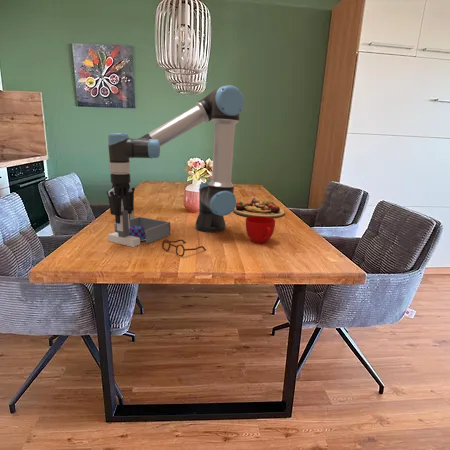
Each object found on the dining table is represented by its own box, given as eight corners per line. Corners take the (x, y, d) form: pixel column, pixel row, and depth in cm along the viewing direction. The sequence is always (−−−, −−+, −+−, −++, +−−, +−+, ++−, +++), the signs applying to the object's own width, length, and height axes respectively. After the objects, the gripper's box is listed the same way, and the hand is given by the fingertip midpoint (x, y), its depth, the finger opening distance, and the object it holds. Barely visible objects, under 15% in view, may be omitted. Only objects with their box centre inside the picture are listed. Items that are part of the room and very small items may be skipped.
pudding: (119, 237, 143) (118, 225, 142) (144, 233, 150) (143, 222, 149) (129, 244, 134) (128, 232, 133) (155, 239, 141) (155, 228, 140)
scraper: (140, 244, 134) (138, 211, 130) (133, 247, 131) (131, 213, 127) (115, 238, 140) (113, 207, 136) (108, 241, 137) (106, 209, 133)
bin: (170, 234, 148) (170, 222, 147) (147, 244, 135) (146, 230, 133) (139, 228, 157) (139, 216, 155) (115, 236, 143) (114, 223, 141)
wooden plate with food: (234, 218, 183) (235, 204, 180) (231, 206, 213) (232, 194, 211) (289, 221, 184) (291, 207, 182) (278, 208, 215) (280, 196, 213)
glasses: (161, 250, 130) (161, 238, 128) (185, 243, 139) (185, 232, 138) (183, 259, 121) (182, 246, 120) (207, 250, 131) (207, 239, 129)
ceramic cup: (254, 249, 132) (255, 226, 130) (240, 237, 148) (241, 216, 145) (282, 247, 136) (284, 225, 133) (266, 236, 152) (268, 215, 149)
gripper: (127, 170, 136) (130, 223, 142) (97, 174, 122) (101, 232, 129) (141, 172, 133) (143, 226, 139) (111, 175, 119) (115, 235, 125)
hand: (123, 229), depth 134 cm, fingers closed on scraper, 3 cm apart
